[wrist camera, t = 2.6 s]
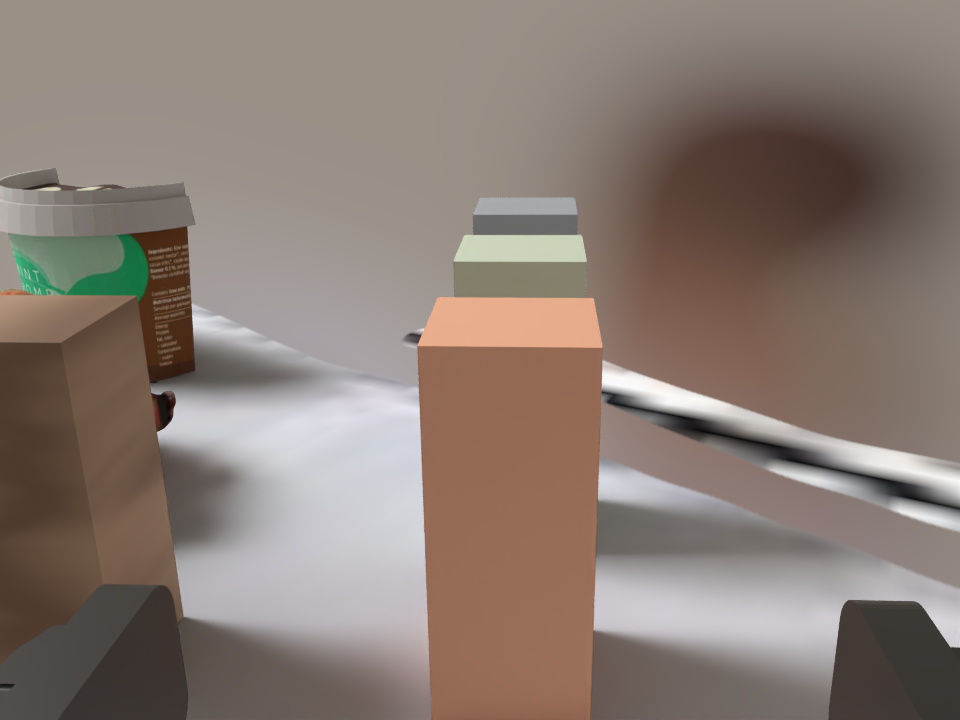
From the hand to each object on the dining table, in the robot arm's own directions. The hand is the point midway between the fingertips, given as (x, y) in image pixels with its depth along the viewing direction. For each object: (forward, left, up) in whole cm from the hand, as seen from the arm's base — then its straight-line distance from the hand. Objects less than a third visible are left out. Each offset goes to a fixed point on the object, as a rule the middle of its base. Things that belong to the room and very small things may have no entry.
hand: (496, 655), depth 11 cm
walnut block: (-17, -1, -9) cm, 19 cm away
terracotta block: (-8, +8, -9) cm, 15 cm away
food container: (-41, +8, -9) cm, 43 cm away
